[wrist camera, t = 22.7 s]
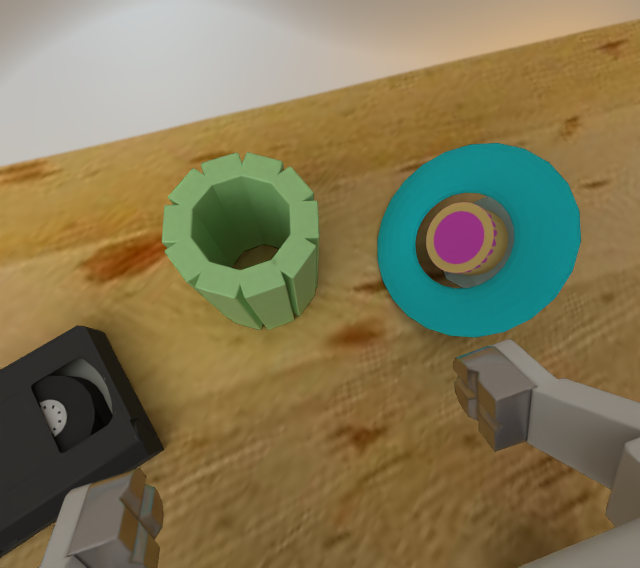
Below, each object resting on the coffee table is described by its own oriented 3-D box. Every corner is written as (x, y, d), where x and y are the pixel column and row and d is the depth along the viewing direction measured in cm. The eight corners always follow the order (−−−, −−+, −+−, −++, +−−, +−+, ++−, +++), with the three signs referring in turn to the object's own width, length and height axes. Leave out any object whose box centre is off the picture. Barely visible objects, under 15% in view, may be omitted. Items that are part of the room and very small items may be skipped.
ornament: (588, 352, 19) (612, 149, 19) (564, 359, 16) (592, 118, 16) (405, 319, 27) (420, 175, 27) (364, 320, 24) (381, 157, 24)
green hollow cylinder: (274, 208, 25) (257, 126, 17) (338, 286, 24) (351, 234, 16) (190, 267, 24) (131, 206, 16) (253, 352, 22) (222, 331, 15)
